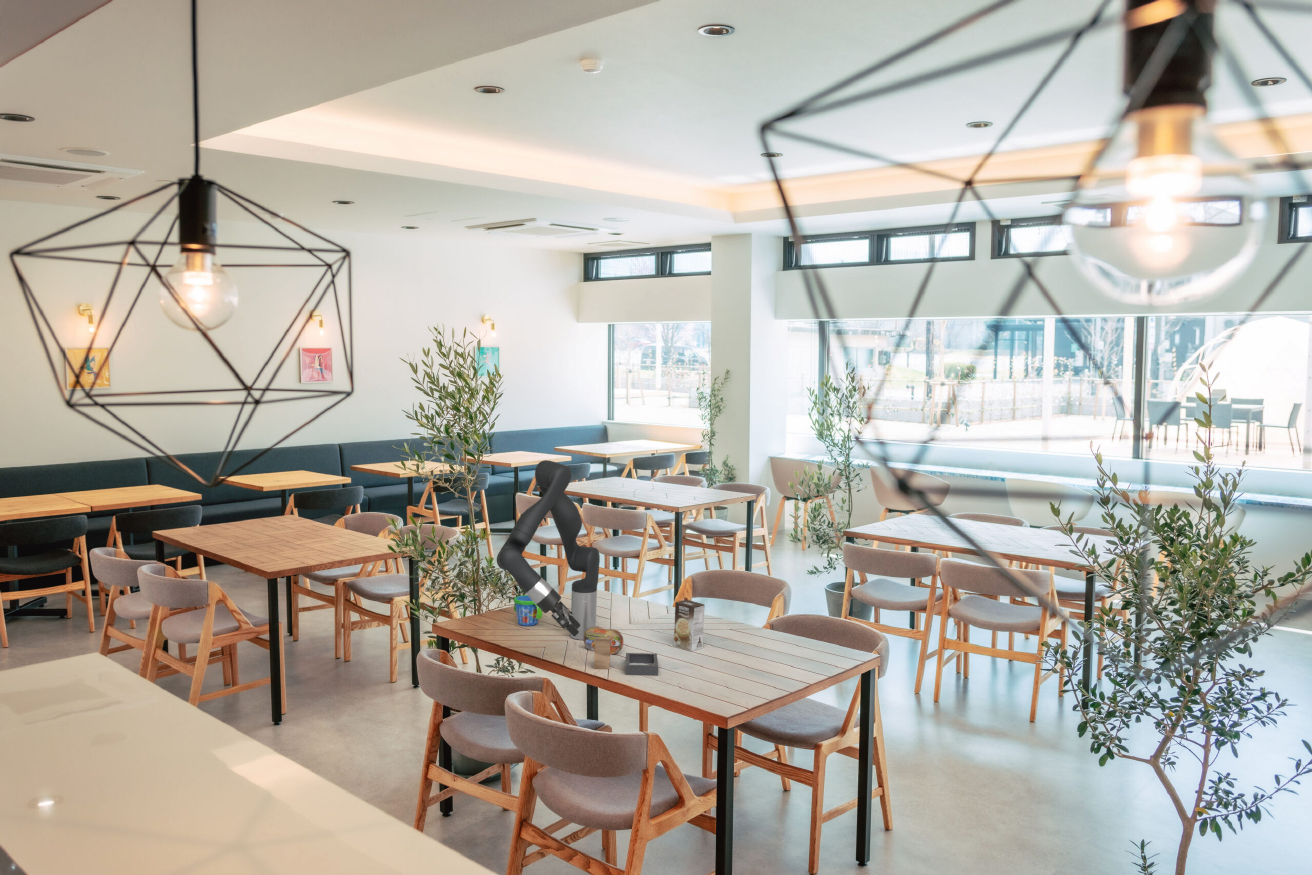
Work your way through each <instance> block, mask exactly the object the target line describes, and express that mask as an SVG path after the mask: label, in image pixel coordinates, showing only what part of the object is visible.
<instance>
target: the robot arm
mask: <svg viewBox="0 0 1312 875" xmlns="http://www.w3.org/2000/svg"><path fill="white" fill-rule="evenodd" d="M534 478H535V483H536V484H537V487H538V488H539V490H540V492H541V494H542V495H543V496H542V497H540V499H539V500H538V501H536V502H535V503H533V504H532V505H531V506H530V507H528V508H527V509H525V511H523V512H522V513H521V515H520V516H519V518H518V519H517V521H516V523H515V525H514V526H513V528H512V530H511V532H510V534H509V536H508V537H507V539H506V541H505V543H504V544H503V545H502V547H501V549H500V550H499V552H497V556H496V564H497V566H498V567H499V568H500V569H501V570H503V571H506V572H508V573H509V574H510V575H511V576H512V577H513V578H514V580H515V582H516V583H517V585H518V586H519V588H521V589H522V591H524V592H525V593H526V594H525V595H528V596H529V597H530V599H531V600H532V601H533V602H534V603H535V604H536V605H537V606H538V607H539V608H540V609H541V610H542V613H544V614H547V613H548V612H551V613H552V614H551V618H553V619H554V621H556V623H557V624H558V625H560V627H561V628H562V629H564V630H565V629H566V630H567V631H568V632H569V634H570V635H569V636H570V638H572V639H574V640H581V641H584V640H583V637H584V633H585V631H586V630H587V629H588V628H591V627H597V602H598V601H597V599H598V583H599V572H600V560H601V559H600V558H601V556H600V551H599V550H598V548H597V547H592V546H583V545H579V544H578V542H577V538H578V536H579V534H580V532H581V529H582V526H583V520H582V516H581V514H580V512H579V509H578V507H577V505H576V504H575V503H574V501H573V500H572V499H571V498H570V497H569V496H568V495H567V494H566V493H565V491H566V489H567V488H568V486H569V485H570V482H571V480H572V479H571V478H572V470H571V469H570V467H569V466H567V465H565V464H562V463H559V462H555V461H552V460H547V459H545V460H541V461H540V462H538V463H537V464H536V467H535V470H534ZM549 512H550V514H551V516H552V519H553V523H554V524H555V528H556V529H557V532H558V533H559V534H558V535H559V536H560V540H561V543H562V545H563V549H564V553H565V558H566V562H567V564H568V567H569V569H570V570H572V571H575V572H579V573H580V572H581V573H582V572H583V573H585V576H584V578H581V579H578V580H575V581H573V582H572V584H571V599H570V601H571V606H570V609H569V608H568V607H567V606H566V605H565V604H564V603H563V602H562V600H561V599H562V596H561V595H560V594H559V593H558V592H557V591H556V590H555V588H553V587H552V586H551V584H550V583H549V582H547V581H546V580H545V579H544V578H543V577H542V576H541V575H540V574H539V573H538V572H537V571H536V570H535V569H534V568H533V567H532V566H531V565H530V564H529V562H528V561H527V559H526V558H525V557H524V555H523V552H524V551H525V549H526V547H527V546H528V545H529V544H530V543H531V541H532V539H533V537H534V535H535V534H536V532H537V530H538V528H539V527H540V524H541V523H542V522H543V520H544V519H545V517H546V515H547V514H548V513H549Z"/></svg>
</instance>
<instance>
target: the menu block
mask: <svg viewBox="0 0 1312 875" xmlns="http://www.w3.org/2000/svg"><path fill="white" fill-rule="evenodd" d="M593 653H594V656H593V657H594V658H593V669H594V670H610V664H611V661H610V660H611V657H610V656H611V654H610V638H597V637H595V651H593Z"/></svg>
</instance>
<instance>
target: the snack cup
mask: <svg viewBox="0 0 1312 875" xmlns="http://www.w3.org/2000/svg"><path fill="white" fill-rule="evenodd" d="M513 602H514V605H513V610H514V612H515V614H516V620H517V624H518V625H519V626H523V627H531V626H534V625H537V624H538V622H539V620H540V619H542V618H543V611H542V610H541V609H540V608H539V607H538V606H537V605H536V604H535V603H534V602H533V601H532V600H531V599H530V597H529V596H528V595H527V594H525V595H518V596H514V598H513Z"/></svg>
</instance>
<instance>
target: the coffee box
mask: <svg viewBox="0 0 1312 875" xmlns="http://www.w3.org/2000/svg"><path fill="white" fill-rule="evenodd" d="M674 603H675V604H674V627H673V628H674V629H673V630H674V632H673V647H677V648H680V649H683V650H686V651H690V652H694V651H699V650H702V649H703V647H704V645H703V644H704V643H703V641H704V624H705V604H704V603H702V602H701V603H700V602H697V601H695V600H694V601H693V600H691V599H682V600H679V601H675V602H674Z"/></svg>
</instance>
